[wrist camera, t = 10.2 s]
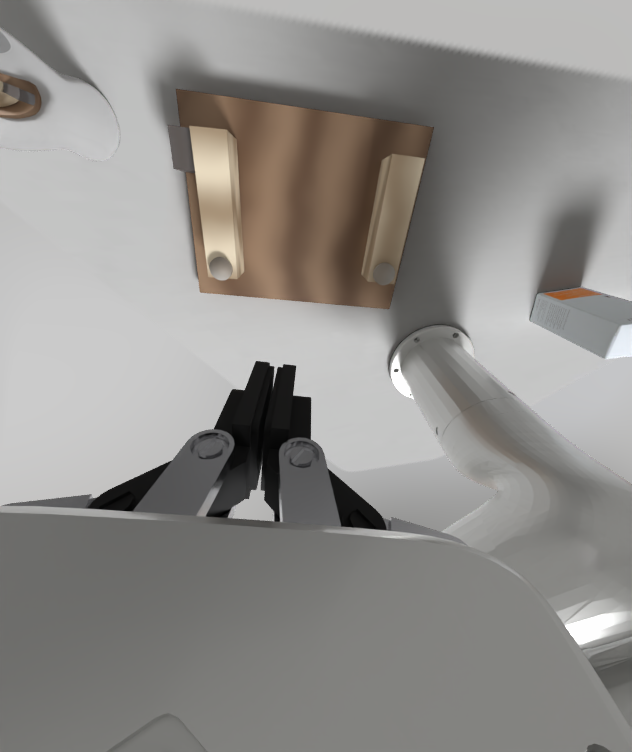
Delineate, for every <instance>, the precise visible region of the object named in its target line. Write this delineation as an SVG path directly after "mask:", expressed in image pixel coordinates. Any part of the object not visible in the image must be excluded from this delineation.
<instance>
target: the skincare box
mask: <svg viewBox="0 0 632 752" xmlns="http://www.w3.org/2000/svg"><path fill="white" fill-rule="evenodd" d="M530 321H531V322H533V323H535V324H537V325H538V326H541V327H542V328H544V329H546V330H548V331H550V332H552V333H554V334H556V335H558V336H560V337H562V338H564V339H566V340H568V341H570V342H572V343H574V344H576V345H578V346H580V347H582V348H584V349H586V350H588V351H590V352H592V353H594V354H596V355H598V356H599V357H601V358H604V359H611V358H619V357H632V301H628V300H625V299H621V298H618V297H614V296H611V295H608V294H604V293H601V292H597V291H594V290H591V289H587V288H584V287H578V288H572V289H566V290H559V291H552V292H544V293H538V294H537V296H536V300H535V304H534V307H533V311H532V314H531V318H530Z"/></svg>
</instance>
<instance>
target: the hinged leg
mask: <svg viewBox="0 0 632 752" xmlns="http://www.w3.org/2000/svg"><path fill="white" fill-rule="evenodd" d="M189 127H190V135H191V143H192V151H193V159H194V167H195V175H196V183H197V191H198V199H199V207H200V215H201V223H202V230H203V238H204V246H205V254H206V262H207V270H208V277H213V278H216V279H218V280H227V279H238V278H239V277H240V276H241V275H242V274H243V272H244V257H243V240H242V223H241V206H240V189H239V172H238V155H237V139H236V138H235V137H233V136H232V135H231V134H230V133H229V132H228V131H227V130H225V129H216V128H207V127H197V126H189Z"/></svg>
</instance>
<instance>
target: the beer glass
mask: <svg viewBox="0 0 632 752" xmlns="http://www.w3.org/2000/svg"><path fill="white" fill-rule="evenodd" d="M119 141H120V132H119V126H118V122H117V119H116V116H115V114H114V112H113V110H112V108H111V106H110V105H109V103H108V102H107V100H106V99H105V98H104V97H103V95H102V94H101V93H100V92H99V91H98V90H97V89H96V88H94V87H93V86H92V85H90V84H89V83H87V82H85V81H83V80H81V79H79V78H76V77H72V76H68V75H63V74H60V73H58V72H57V71H55V70H54V69H53V68H52V67H50V66H49V65H48V64H47V63H45V62H44V61H43V60H42V59H41V58H39V57H38V56H37V55H36V54H35V53H34V52H32V51H31V50H30V49H29V48H27V47H26V46H25V45H24V44H23V43H21V42H20V41H19V40H18V39H16V38H15V37H14V36H12V35H11V34H10V33H8V32H7V31H6V30H4V29H3V28H2V27H0V148H2V149H8V150H15V151H50V150H69V151H71V152H73V153H75V154H77V155H79V156H81V157H83V158H85V159H88V160H91V161H105V160H108V159H110V158H111V157H112V156H113V155H114V154H115V153H116V151H117V149H118V146H119Z"/></svg>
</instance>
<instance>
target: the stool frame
mask: <svg viewBox="0 0 632 752" xmlns="http://www.w3.org/2000/svg"><path fill="white" fill-rule="evenodd" d="M176 94H177V103H178V111H179V120H180V127H179V126H171V125H168V130H169V138H170V145H171V152H172V160H173V167H174V169H177V170H180V171H184V172H186V179H187V187H188V195H189V204H190V212H191V221H192V229H193V237H194V246H195V254H196V263H197V271H198V279H199V288H200V292H201V293H213V294H224V295H235V296H246V297H258V298H269V299H280V300H291V301H303V302H314V303H325V304H336V305H348V306H359V307H370V308H382V309H389V308H390V304H391V300H392V296H393V292H394V288H395V284H396V280H397V276H398V272H399V267H400V263H401V259H402V255H403V251H404V247H405V243H406V239H407V235H408V231H409V227H410V223H411V219H412V215H413V211H414V206H415V202H416V198H417V194H418V190H419V186H420V182H421V178H422V174H423V170H424V166H425V162H426V158H427V154H428V150H429V145H430V141H431V137H432V133H433V129H434V127H428V126H421V125H415V124H408V123H401V122H395V121H388V120H381V119H374V118H368V117H361V116H354V115H348V114H341V113H334V112H328V111H321V110H314V109H308V108H301V107H294V106H287V105H281V104H274V103H267V102H261V101H254V100H247V99H241V98H234V97H227V96H220V95H214V94H207V93H200V92H194V91H187V90H180V89H176ZM189 126H197V127H207V128H216V129H225V130H227V131H228V132H229V133H230V134H231V135H232V136H233V137H235V138H236V139H237V155H238V172H239V189H240V206H241V223H242V240H243V257H244V272H243V274H242V275H241V276H240V277H239V278H238V279H227V280H218V279H216V278H213V277H208V270H207V262H206V254H205V246H204V238H203V230H202V223H201V215H200V207H199V199H198V191H197V183H196V175H195V167H194V159H193V151H192V143H191V135H190V127H189Z"/></svg>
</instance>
